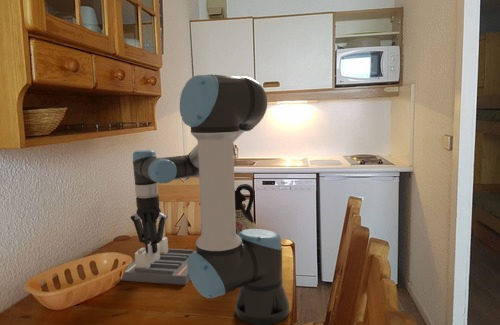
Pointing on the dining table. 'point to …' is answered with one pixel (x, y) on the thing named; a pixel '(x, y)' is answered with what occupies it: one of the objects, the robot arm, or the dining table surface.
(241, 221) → the ceramic jug
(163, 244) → the far breaker handle
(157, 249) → the handle
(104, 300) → the dining table surface
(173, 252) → the tray
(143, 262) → the block
